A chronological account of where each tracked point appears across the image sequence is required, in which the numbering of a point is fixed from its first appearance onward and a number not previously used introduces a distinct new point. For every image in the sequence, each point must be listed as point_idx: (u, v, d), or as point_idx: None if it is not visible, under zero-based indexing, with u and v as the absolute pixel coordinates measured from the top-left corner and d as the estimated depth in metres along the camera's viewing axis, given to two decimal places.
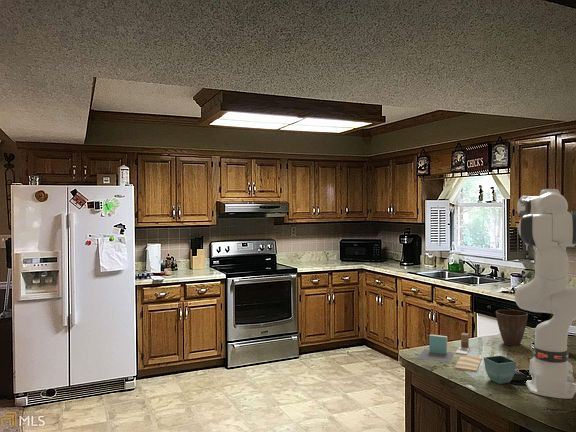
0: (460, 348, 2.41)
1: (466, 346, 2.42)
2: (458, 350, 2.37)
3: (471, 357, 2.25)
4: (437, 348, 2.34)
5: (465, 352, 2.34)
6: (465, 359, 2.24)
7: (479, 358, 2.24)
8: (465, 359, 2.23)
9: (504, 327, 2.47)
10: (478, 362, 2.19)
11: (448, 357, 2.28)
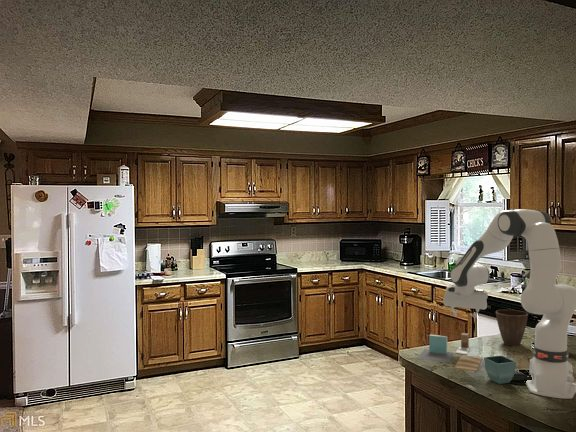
0: (460, 348, 2.41)
1: (466, 346, 2.42)
2: (458, 350, 2.37)
3: (471, 357, 2.25)
4: (437, 348, 2.34)
5: (465, 352, 2.34)
6: (465, 359, 2.24)
7: (479, 358, 2.24)
8: (465, 359, 2.23)
9: (504, 327, 2.47)
10: (478, 362, 2.19)
11: (448, 357, 2.28)
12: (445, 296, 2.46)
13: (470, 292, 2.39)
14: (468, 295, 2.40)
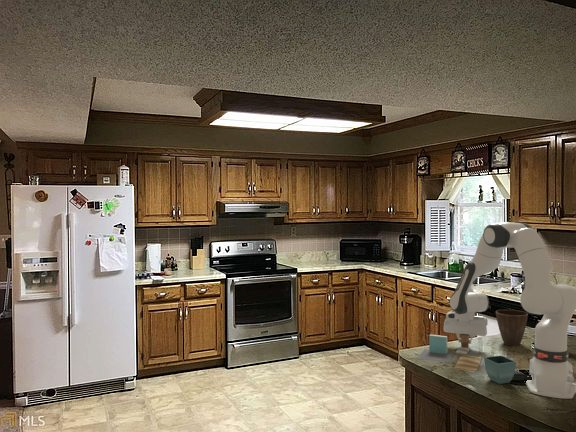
0: (460, 348, 2.41)
1: (466, 346, 2.42)
2: (458, 350, 2.37)
3: (471, 357, 2.25)
4: (437, 348, 2.34)
5: (465, 352, 2.34)
6: (465, 359, 2.24)
7: (479, 358, 2.24)
8: (465, 359, 2.23)
9: (504, 327, 2.47)
10: (478, 362, 2.19)
11: (448, 357, 2.28)
12: (445, 322, 2.46)
13: (470, 319, 2.39)
14: (468, 322, 2.41)
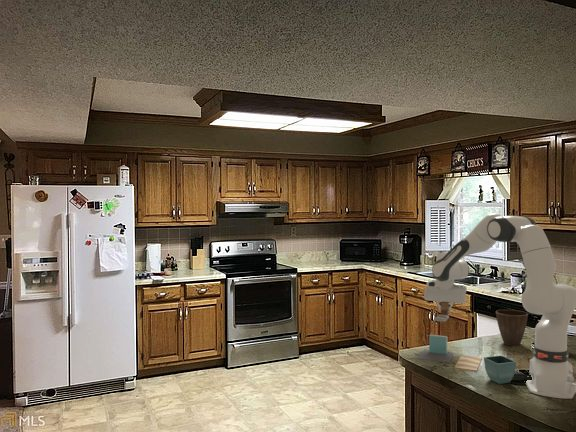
0: (440, 315, 2.46)
1: (446, 313, 2.47)
2: (437, 317, 2.43)
3: (471, 357, 2.25)
4: (437, 348, 2.34)
5: (444, 318, 2.40)
6: (465, 359, 2.24)
7: (479, 358, 2.24)
8: (465, 359, 2.23)
9: (504, 327, 2.47)
10: (478, 362, 2.19)
11: (448, 357, 2.28)
12: (425, 290, 2.51)
13: (449, 286, 2.45)
14: (448, 289, 2.46)
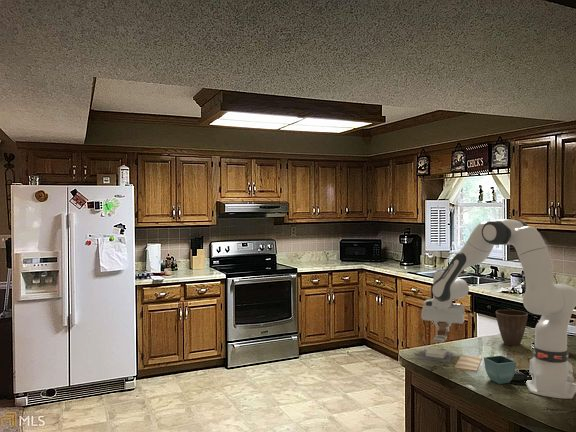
0: (437, 335, 2.40)
1: (443, 334, 2.41)
2: (435, 337, 2.37)
3: (471, 357, 2.25)
4: None
5: (442, 339, 2.34)
6: (465, 359, 2.24)
7: (479, 358, 2.24)
8: (465, 359, 2.23)
9: (504, 327, 2.47)
10: (478, 362, 2.19)
11: (448, 357, 2.28)
12: (423, 310, 2.46)
13: (447, 306, 2.39)
14: (445, 309, 2.40)
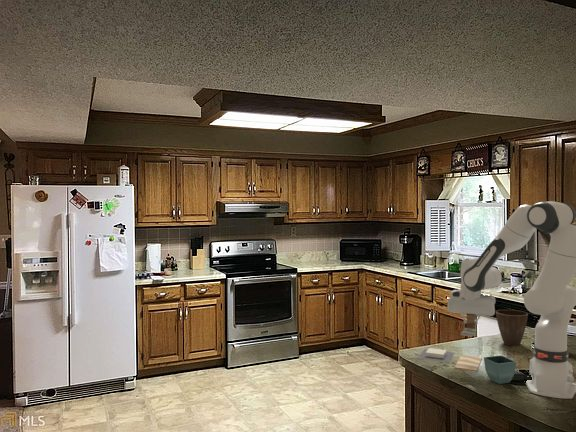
0: (466, 329, 2.21)
1: (472, 327, 2.22)
2: (463, 331, 2.18)
3: (471, 357, 2.25)
4: None
5: (471, 332, 2.15)
6: (465, 359, 2.24)
7: (479, 358, 2.24)
8: (465, 359, 2.23)
9: (504, 327, 2.47)
10: (478, 362, 2.19)
11: (448, 357, 2.28)
12: (449, 301, 2.26)
13: (476, 297, 2.20)
14: (474, 300, 2.21)
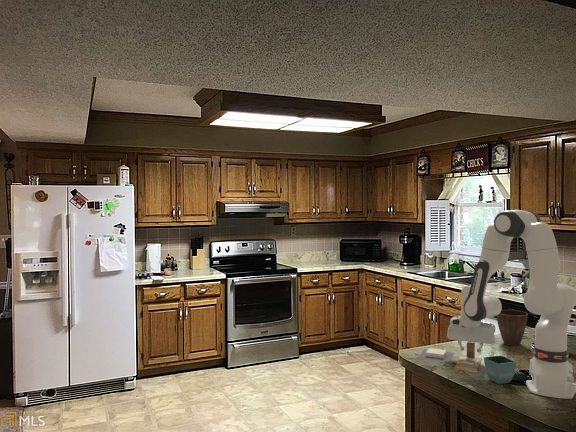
0: (466, 358, 2.21)
1: (472, 356, 2.23)
2: (463, 361, 2.18)
3: None
4: None
5: (471, 363, 2.15)
6: None
7: (479, 358, 2.24)
8: None
9: (504, 327, 2.47)
10: (478, 362, 2.19)
11: (448, 357, 2.28)
12: (449, 329, 2.27)
13: (476, 325, 2.20)
14: (474, 328, 2.21)
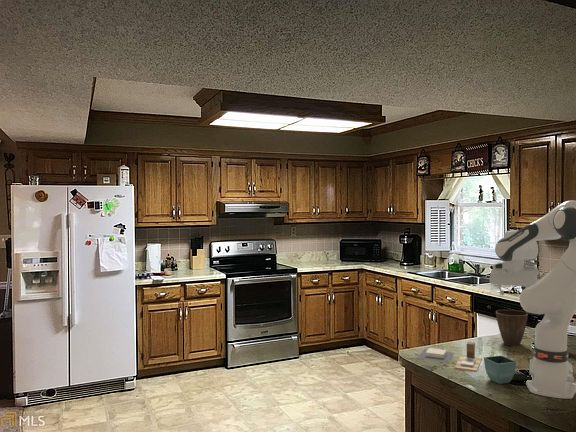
0: (466, 358, 2.21)
1: (472, 356, 2.23)
2: (463, 361, 2.18)
3: None
4: None
5: (471, 363, 2.15)
6: None
7: (479, 358, 2.24)
8: None
9: (504, 327, 2.47)
10: (478, 362, 2.19)
11: (448, 357, 2.28)
12: (491, 273, 2.29)
13: (520, 268, 2.23)
14: (517, 272, 2.24)
